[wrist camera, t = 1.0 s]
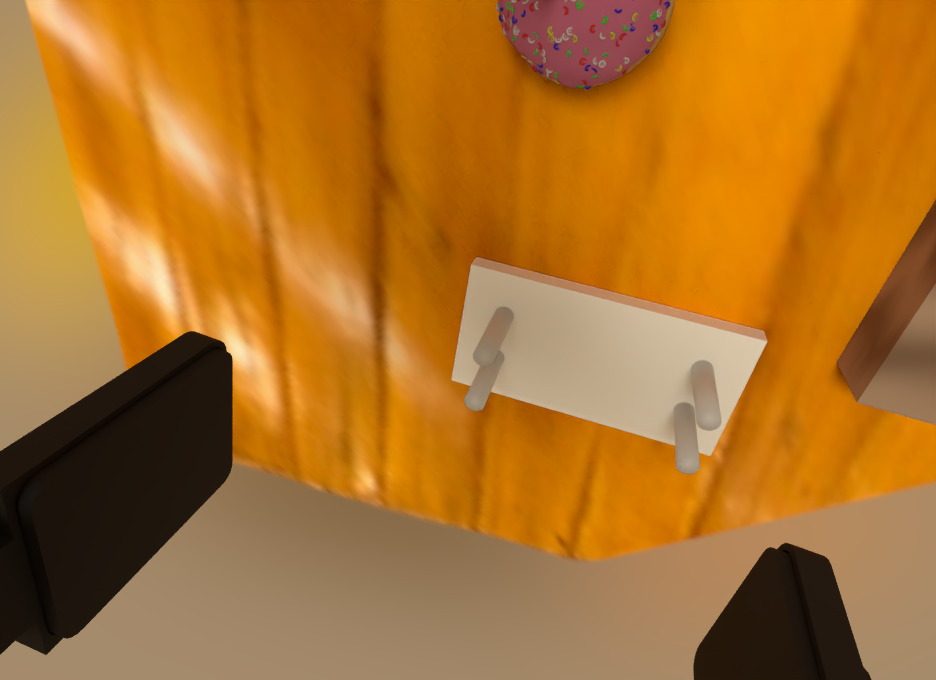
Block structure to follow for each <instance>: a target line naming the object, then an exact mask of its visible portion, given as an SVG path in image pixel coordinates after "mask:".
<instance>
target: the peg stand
mask: <svg viewBox="0 0 936 680" xmlns="http://www.w3.org/2000/svg"><path fill="white" fill-rule="evenodd" d="M766 343H767V339H766V336H765V333H764V331H763V330H759V329H755V328H751V327H747V326H744V325H740V324H736V323H732V322H728V321H724V320H720V319H716V318H712V317H709V316H705V315H701V314H697V313H693V312H689V311H685V310H681V309H677V308H674V307H670V306H666V305H662V304H658V303H654V302H650V301H646V300H642V299H639V298H635V297H631V296H627V295H623V294H619V293H615V292H611V291H607V290H604V289H600V288H596V287H592V286H588V285H584V284H580V283H576V282H573V281H569V280H565V279H561V278H557V277H553V276H549V275H545V274H541V273H538V272H534V271H530V270H526V269H522V268H518V267H514V266H510V265H506V264H503V263H499V262H495V261H491V260H487V259H483V258H479V257H476V258H475V260H474V261H473V263H472V264H471V268H470V274H469V280H468V286H467V291H466V297H465V303H464V309H463V315H462V321H461V327H460V332H459V338H458V344H457V350H456V356H455V362H454V368H453V374H452V379H451V380H452V381H456V382H459V383H462V384H466V385H469V386H470V388H469V390H468V392H467V395H466V397H465V399H464V402H465V404H466V406H467V407H468V408H469V409H471V410H474V411H479V410H481V409H483V408H484V406H485V404H486V401H487V399H488V397H489V394H490V392H493V393H497V394H500V395H503V396H507V397H510V398H514V399H517V400H520V401H524V402H527V403H531V404H534V405H538V406H541V407H544V408H548V409H551V410H555V411H558V412H561V413H565V414H568V415H572V416H575V417H579V418H582V419H585V420H589V421H592V422H596V423H599V424H603V425H606V426H609V427H613V428H616V429H620V430H623V431H626V432H630V433H633V434H637V435H640V436H644V437H647V438H650V439H654V440H657V441H661V442H664V443H667V444H671V445H674V446H675V452H676V467H677V469H678V470H679V471H680V472H682V473H684V474H693V473H695V472H697V471H698V470H699V468H700V461H699V453H702V454H705V455H708V456H711V454H712V452H713V450H714V448H715V446H716V444H717V442H718V440H719V438H720V436H721V434H722V432H723V430H724V428H725V426H726V424H727V422H728V420H729V418H730V416H731V414H732V412H733V410H734V408H735V406H736V404H737V402H738V400H739V398H740V396H741V394H742V392H743V390H744V388H745V386H746V384H747V381H748V379H749V377H750V375H751V373H752V371H753V369H754V367H755V365H756V363H757V361H758V359H759V357H760V355H761V353H762V351H763V349H764V347H765V345H766Z"/></svg>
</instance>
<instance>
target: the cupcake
mask: <svg viewBox="0 0 936 680" xmlns="http://www.w3.org/2000/svg"><path fill="white" fill-rule="evenodd" d="M674 1H675V0H498V3H497V5H496V9H497V11H499V20H500V21H501V24H502V28H503V33H504V34H505V36H506V37H507V39H508V40H509V41H510V42H511V43H512V44H513V46H514V47H515V48H516V49H517V50H518V52H519V53H520V54H521V56H522V57H523V58H524V59H525V61H526V62H527V63H528V64H529V65H530V66H531V68H532V69H533V71H535V72H537V73H538V74H540V75H541V76H542V77H544V78H546V79H548V80H551V81H553V82H557V83H558V84H562V85H563V86H565V87H569V88H585V89H589V88H591V86H596V85H602V84H605V83H608V82H611V81H613V80H615V79H618V78H620V77H622V76H624V75H625V74H627V73H629V72H630V71H632V70H633V69H634V68H635V67H636V66H637V65H639V64H640V63H641V62H642V61H643V60H644V59H645V58H646V57H647V56H648V55H649V54H650V53H651V52H652V51H653V50H654V49H655V48H656V46H657V45H658V44H659V42H660V41H661V39H662V37H663V35H664V33H665V31H666V29H667V27H668V24H669V22H670V19H671V16H672V12H673V7H674ZM497 7H498V8H499V9H498V8H497Z"/></svg>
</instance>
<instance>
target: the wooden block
mask: <svg viewBox="0 0 936 680" xmlns="http://www.w3.org/2000/svg"><path fill="white" fill-rule="evenodd" d="M837 364H838V366H839V368H840V370H841V372H842V374H843V376H844V378H845V380H846V382H847V384H848V386H849V388H850V390H851V392H852V394H853V396H854V398H855V400H856V402H857V403H860V404H864V405H867V406H871V407H874V408H878V409H881V410H885V411H888V412H892V413H895V414H899V415H902V416H906V417H909V418H913V419H916V420H920V421H923V422H927V423H930V424H934V425H936V200H935V202H934V204H933V205H932V207H931V209H930V210H929V212H928V213H927V215H926V217H925V218H924V220H923V222H922V223H921V225H920V227H919V228H918V230H917V231H916V233H915V235H914V236H913V238H912V240H911V241H910V243H909V245H908V246H907V248H906V250H905V251H904V253H903V254H902V256H901V258H900V259H899V261H898V263H897V264H896V266H895V268H894V269H893V271H892V272H891V274H890V276H889V277H888V279H887V281H886V282H885V284H884V286H883V287H882V289H881V290H880V292H879V294H878V295H877V297H876V299H875V300H874V302H873V304H872V305H871V307H870V308H869V310H868V312H867V313H866V315H865V317H864V318H863V320H862V322H861V323H860V325H859V326H858V328H857V330H856V331H855V333H854V335H853V336H852V338H851V340H850V341H849V343H848V345H847V346H846V348H845V349H844V351H843V353H842V354H841V356H840V358H839V359H838V361H837Z"/></svg>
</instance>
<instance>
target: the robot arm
mask: <svg viewBox="0 0 936 680" xmlns="http://www.w3.org/2000/svg"><path fill="white" fill-rule="evenodd" d="M231 468H232V356H231V354H230V353H228V352H227V351H226V346H225V344H224V343H223V342H222V341H220V340H217V339H214V338H211V337H208V336H206V335H203V334H200V333H197V332H194V331H189V332H187V333H185V334H183V335H182V336H180V337H178V338H177V339H175V340H174V341H172V342H171V343H169V344H167V345H166V346H164V347H163V348H161V349H160V350H158V351H157V352H155V353H153V354H152V355H150V356H149V357H147V358H146V359H144V360H142V361H141V362H139V363H138V364H136V365H135V366H133V367H131V368H130V369H128V370H127V371H125V372H124V373H122V374H121V375H119V376H117V377H116V378H115V379H113V380H111V381H110V382H108V383H106V384H105V385H103V386H102V387H100V388H99V389H97V390H95V391H94V392H92V393H91V394H89V395H88V396H86V397H84V398H83V399H81V400H80V401H78V402H77V403H75V404H74V405H72V406H70V407H69V408H67V409H66V410H64V411H63V412H61V413H59V414H58V415H56V416H55V417H53V418H52V419H50V420H48V421H47V422H45V423H44V424H42V425H41V426H39V427H37V428H36V429H34V430H33V431H31V432H30V433H28V434H27V435H25V436H23V437H22V438H20V439H19V440H17V441H16V442H14V443H12V444H11V445H10V446H8V447H6V448H5V449H3V450H1V451H0V654H1V653H3V652H4V651H5V650H6V649H7V648H8V647H9V646H10V645H11V644H12V643H13V642H14V641H15V640H16V641H17V642H19V643H21V644H24V645H26V646H28V647H30V648H32V649H34V650H37V651H39V652H41V653H43V654H45V655H46V654H48V653H49V652H50V651H51V649H53V648H54V647H55V645H57V644H58V643H59V642H60V641H61V640H62V639H63V638H71V637H73V636H74V635H76V634H78V633H79V632H80V631H81V630H82V629H83V628H84V627H85V626H86V625H87V624H88V623H89V622H90V621H91V620H92V619H93V618H94V617H95V616H96V615H97V613H99V612H100V611H101V610H102V608H103V607H104V606H105V605H106V604H107V603H108V602H109V601H110V600H111V599H112V598H113V597H114V596H115V595H116V594H117V593H118V592H119V591H120V590H121V589H122V588H123V587H124V586H125V585H126V584H127V583H128V582H129V580H131V578H132V577H133V576H134V575H135V574H136V573H137V572H138V571H139V570H140V569H141V568H142V567H143V566H144V565H145V564H146V563H147V562H148V561H149V560H150V559H151V558H152V557H153V555H155V554H156V553H157V552H158V551H159V549H160V548H161V547H162V546H163V545H164V544H165V543H166V542H167V541H168V540H169V539H170V538H171V537H172V536H173V535H174V534H175V533H176V532H177V531H178V530H179V529H180V528H181V527H182V526H183V524H184V523H186V522H187V521H188V519H189V518H190V517H191V516H192V515H193V514H194V513H195V512H196V511H197V510H198V509H199V508H200V507H201V506H202V505H203V504H204V503H205V502H206V501H207V500H208V499H209V498H210V497H211V495H213V494H214V493H215V492H216V490H217V489H218V488H219V487H220V486H221V485H222V484H223V483H224V482H225V481H226V479H227V477H228V476H229V474H230V471H231ZM694 680H871V678H870V675H869V673H868V672H867V671H866V670H865V669H864V667H863V665H862V662H861V658H860V655H859V652H858V649H857V646H856V642H855V639H854V636H853V633H852V630H851V626H850V623H849V620H848V617H847V614H846V611H845V607H844V604H843V601H842V598H841V595H840V591H839V588H838V585H837V582H836V579H835V576H834V572H833V569H832V566H831V564H830V562H829V560H828V559H827V558H826V557H825V556H822V555H819V554H817V553H814V552H811V551H808V550H806V549H803V548H800V547H797V546H794V545H791V544H788V543H784V544H782V545H781V546H780V547H779V548H778V549H775V548H771V547H770V548H767V549H766V550H765V551H764V552H763V554H762V555H761V557H760V558H759V560H758V561H757V562H756V564H755V565H754V567H753V568H752V570H751V571H750V573H749V574H748V575H747V577H746V578H745V580H744V581H743V583H742V584H741V586H740V587H739V588H738V590H737V591H736V593H735V594H734V596H733V597H732V599H731V600H730V601H729V603H728V605H727V606H726V607H725V609H724V610H723V612H722V613H721V614H720V616H719V617H718V619H717V620H716V622H715V623H714V625H713V626H712V627H711V629H710V630H709V632H708V633H707V635H706V636H705V638H704V639H703V641H702V642H701V643H700V645H699V647H698V649H697V651H696V655H695V659H694Z"/></svg>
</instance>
